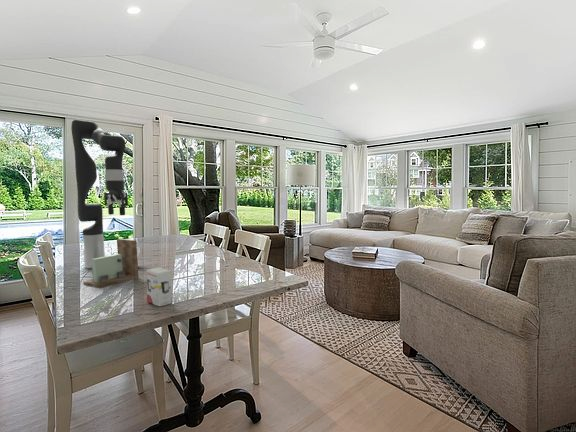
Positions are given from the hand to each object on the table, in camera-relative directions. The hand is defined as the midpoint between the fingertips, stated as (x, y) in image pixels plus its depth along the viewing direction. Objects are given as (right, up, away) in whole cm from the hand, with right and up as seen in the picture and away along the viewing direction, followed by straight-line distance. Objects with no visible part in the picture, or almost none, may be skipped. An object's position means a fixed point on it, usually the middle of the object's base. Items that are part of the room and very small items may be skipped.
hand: (116, 214), depth 158 cm
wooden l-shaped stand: (+1, -29, -7) cm, 30 cm away
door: (+1, -28, -9) cm, 30 cm away
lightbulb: (-1, -27, +21) cm, 34 cm away
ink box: (+34, -32, -37) cm, 59 cm away
